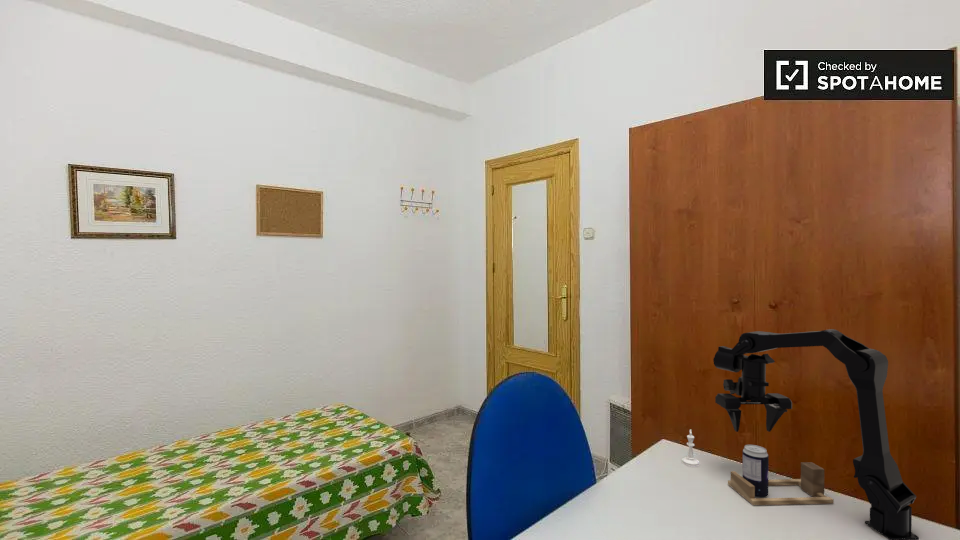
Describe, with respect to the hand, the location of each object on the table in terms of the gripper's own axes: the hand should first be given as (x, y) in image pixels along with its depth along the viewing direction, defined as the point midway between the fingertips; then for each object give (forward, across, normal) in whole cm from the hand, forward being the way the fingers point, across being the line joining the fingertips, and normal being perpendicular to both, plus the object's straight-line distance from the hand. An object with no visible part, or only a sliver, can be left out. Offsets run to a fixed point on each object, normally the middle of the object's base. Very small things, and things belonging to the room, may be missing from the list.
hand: (752, 431), depth 124 cm
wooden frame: (+12, -1, +11) cm, 16 cm away
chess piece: (+13, +14, -8) cm, 20 cm away
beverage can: (+12, +6, +11) cm, 18 cm away
